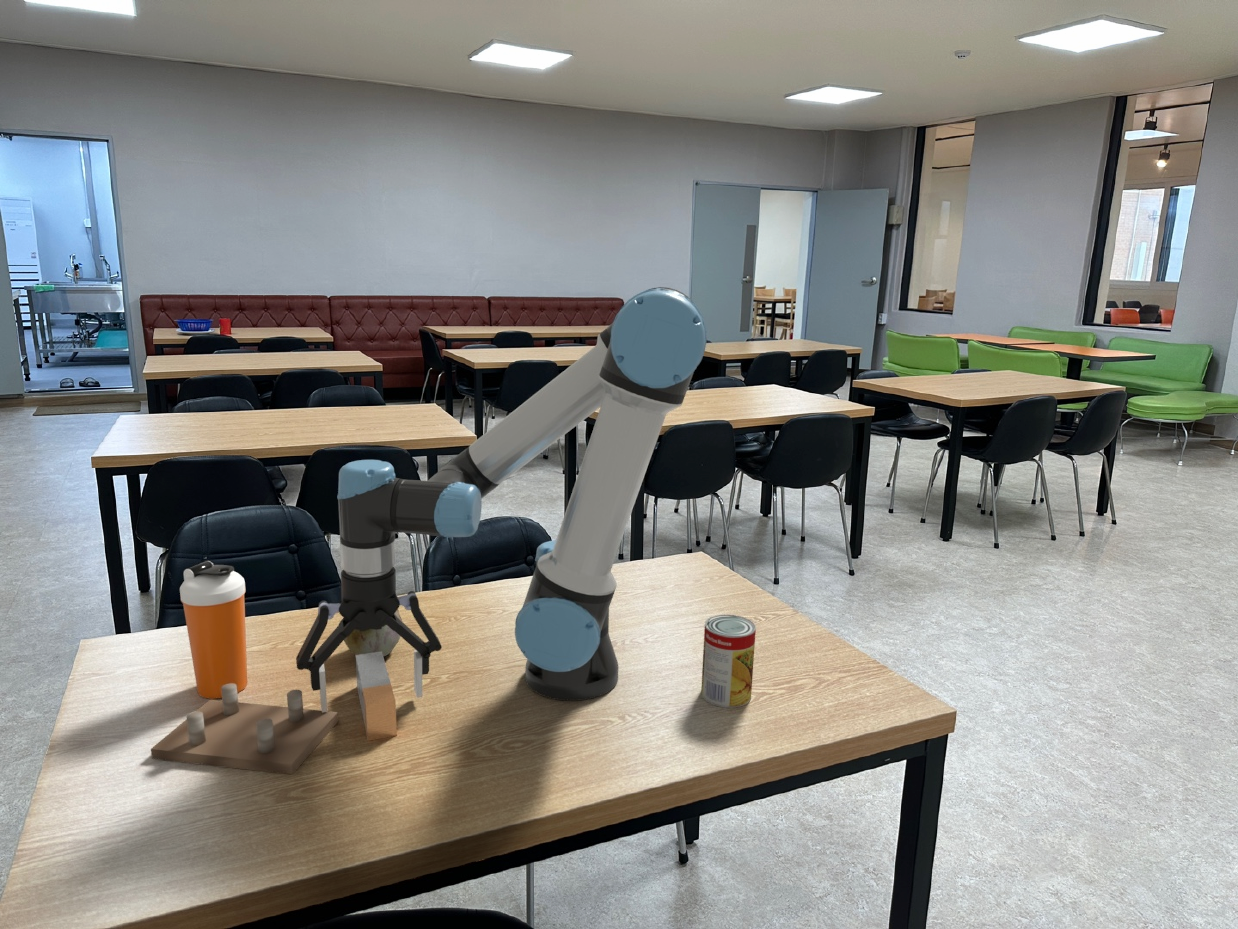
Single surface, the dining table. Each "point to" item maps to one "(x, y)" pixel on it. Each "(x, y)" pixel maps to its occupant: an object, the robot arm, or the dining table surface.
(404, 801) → the dining table surface
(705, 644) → the canned food
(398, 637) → the fruit
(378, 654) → the bar
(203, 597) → the shaker bottle
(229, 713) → the peg rack
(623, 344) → the robot arm
